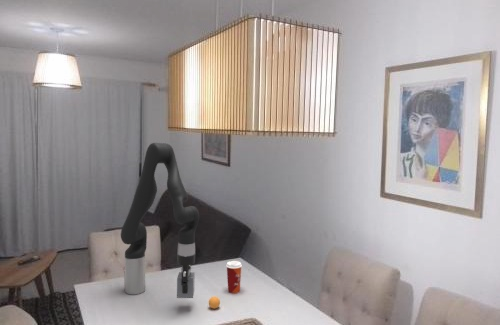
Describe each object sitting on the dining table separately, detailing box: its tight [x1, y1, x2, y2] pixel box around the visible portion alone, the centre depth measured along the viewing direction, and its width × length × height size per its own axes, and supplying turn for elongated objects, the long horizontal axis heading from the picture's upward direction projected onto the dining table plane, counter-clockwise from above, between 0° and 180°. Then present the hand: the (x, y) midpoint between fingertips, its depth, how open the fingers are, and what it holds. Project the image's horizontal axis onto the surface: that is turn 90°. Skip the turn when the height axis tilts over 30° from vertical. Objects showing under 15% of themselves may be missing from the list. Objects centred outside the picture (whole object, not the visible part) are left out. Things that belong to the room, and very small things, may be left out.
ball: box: [208, 296, 221, 309], centre depth 173 cm, size 5×5×5 cm
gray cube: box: [176, 271, 196, 299], centre depth 171 cm, size 7×7×9 cm
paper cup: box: [225, 260, 243, 294], centre depth 191 cm, size 8×8×14 cm
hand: (185, 289), depth 171 cm, fingers closed on gray cube, 7 cm apart
